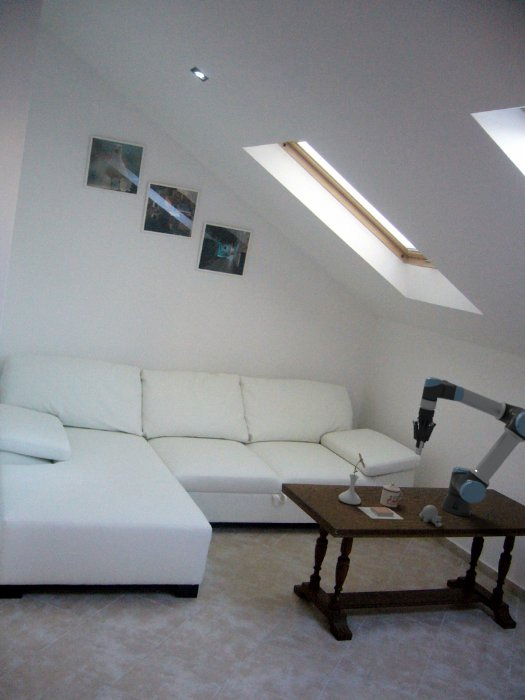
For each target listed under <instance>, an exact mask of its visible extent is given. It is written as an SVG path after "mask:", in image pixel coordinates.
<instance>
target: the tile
mask: <svg viewBox="0 0 525 700" xmlns="http://www.w3.org/2000/svg"><path fill="white" fill-rule="evenodd" d="M388 508H389V507H387V506H384V507H383V506H381V507H380V506H370V510H371V511H372V512H373V513H374V514H376V515H377V516H393V515H394V513H393V512H394V511H393V510H392V511H393V512H392V511H390V510H389V509H390V508H389V509H388Z"/></svg>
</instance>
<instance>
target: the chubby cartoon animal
mask: <svg viewBox="0 0 525 700" xmlns="http://www.w3.org/2000/svg"><path fill="white" fill-rule="evenodd" d="M418 516H419V517H420V518H421V519H422V521H423V523H424V522H425V523H430V522H431V523H433V524H434V526H435V527H437V528H440V527H441V526H442V525H443V524H442V522H441V521H442V519H443V516H439V510H438V508H437V507H436V506H435V505H433V504H427V505H426V506H424V507H423V509H422V511H421V512H420V513H419V515H418Z"/></svg>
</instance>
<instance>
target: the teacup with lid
mask: <svg viewBox="0 0 525 700" xmlns="http://www.w3.org/2000/svg"><path fill="white" fill-rule="evenodd" d="M402 498H403V491H401V489H400V487H398V486H397V485H395V483H394V482H390V483H388V484H384V485H383V486H382V492H381V496H380V501H379V503H380V504H381V505H383V506H384V507H387V508H397V507H398V505H399V501H400V500H401V499H402Z"/></svg>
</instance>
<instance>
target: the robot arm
mask: <svg viewBox="0 0 525 700" xmlns="http://www.w3.org/2000/svg"><path fill="white" fill-rule="evenodd" d="M420 399H421V400H420V404H419V405H420V407H418V408H419V409H418V417H416V418H417V419H415V420H414V419H413V420H412V425H413V440H415V441H416V442H415V448H416V449H415V454H416V455H418V456H422V451H423V449H424V447H425V443H427V442H429V440H430V438H431V435H432V434H433V431H434V429H435V428H436V426H437V423H436V422H434V416H435V412H436V411H435V410H436V408H437V402H438V399H443V400H448V401H453V402H459V403H460V404H463V405H465V406H468V407H471V408H473V409H476V410H477V411H481V412H483V413H484V414H488V415H490V416H492V417H494V419H496V421H499V422H501V423H503V424H505V426H504V427H503V429H504V431H503V433H502V434H501V435H500V437H499V438H498V439H497V440H496V441H495V443H494V444H493V446H491V448H490V449H489V450H488V451H487V453H486V455H484V457H483V458H482V459H481V460H480V462H479V463H478V464H477V466H476V467H475V468H466V467H461V466H454V467H453V468H452V471H451V475H450V481H449V485H448V488H447V489H448V490H447V494H446V496H445V497H444V500H443V501H442V502H441V506H440V507H441V509H442V510H443V511H445V512H448V513H449V514H452V515H456V516H460V517H461V516H462V517H469V516H471V514H472V504H478V503H479V502H481V501H483V500H484V498H485V497H486V494H487V492H486V490H487V489H488V487H490V479H491V478H492V477H493V476H494V475H495V473H496V472H497V471H498V470H499V468H500V467H501V466H502V464H503V463H504V462H505V461H506V459H508V458H509V456H510V455H511V453H512V452H513V451H514V449H516V447H517V446H518V445H519V443H524V442H525V408H523V407H522V406H521V407H520V406H516V405H513V404H509V403H507V402H504V401H502V402H500V401H497V400H494V399H491V398H490V397H486V396H485V395H481V394H479V393H477V392H474V391H472V390H470V389H467V388H464V387H463V386H459V385H457V384H455V383H452V382H449V381H448V380H446V379H441V378H438V377H433V376H427V377H426V378H425V381H424V384H423V389H422V396H421V398H420Z"/></svg>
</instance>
